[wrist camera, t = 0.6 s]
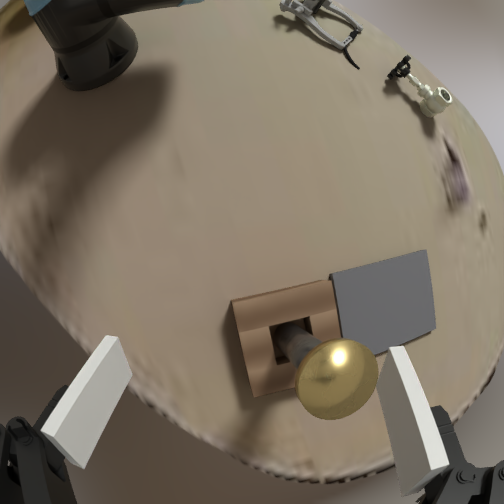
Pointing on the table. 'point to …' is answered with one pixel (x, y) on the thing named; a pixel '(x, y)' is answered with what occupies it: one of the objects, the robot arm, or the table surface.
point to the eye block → (269, 318)
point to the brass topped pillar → (328, 371)
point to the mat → (385, 301)
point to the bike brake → (304, 12)
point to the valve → (424, 90)
